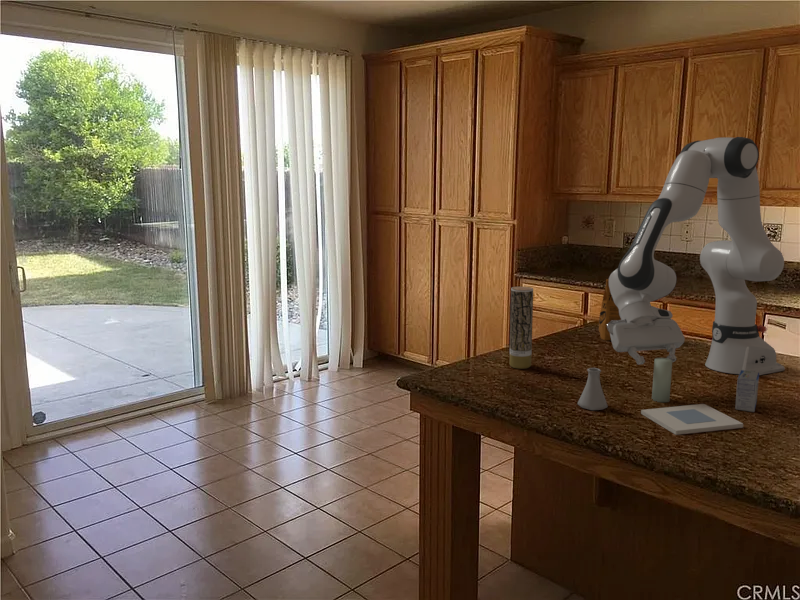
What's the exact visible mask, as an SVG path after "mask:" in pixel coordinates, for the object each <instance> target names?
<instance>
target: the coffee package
mask: <svg viewBox="0 0 800 600" xmlns="http://www.w3.org/2000/svg"><path fill="white" fill-rule="evenodd" d="M612 320H621V318H620V315H619V309H618V307H617V306H616V305H615V303H614V301H613V298H612V295H611V292H610V289H609V278H608V279H607V278H606V280H605V287H604V292H603V296H602V301H601V308H600V312H599V319H598V332H599V335H600V339H601V340H602V341H605V342H606V341H609V342H610V341H611V337H610V333H609V331H608V328H607V324H608V323H609V322H610V321H612Z"/></svg>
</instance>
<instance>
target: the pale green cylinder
mask: <svg viewBox="0 0 800 600" xmlns="http://www.w3.org/2000/svg"><path fill="white" fill-rule="evenodd" d="M653 362H654V363H653V373H652V374H653V375H652V391H651V400H652V399H653V400H652V401H654V402H656V401H657V403H669V402H670V397H671V386H672V385H671V383H672V373H673V372H672V370H673V362H672V360H671V359H668V358H667V357H655V358H654V360H653Z"/></svg>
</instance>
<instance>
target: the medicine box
mask: <svg viewBox="0 0 800 600" xmlns="http://www.w3.org/2000/svg"><path fill="white" fill-rule="evenodd" d="M759 379H760V375H759V372H754V371H746V370H741V372H740V374H738V377H737V381H736V394H735V395H736V396H735V404H734V405H735V407H734V408H735V410H738V411H743V412H750V413H755V411H756V407H757V404H758V403H757V402H758V392H759V391H758V390H759Z"/></svg>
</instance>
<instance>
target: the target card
mask: <svg viewBox="0 0 800 600" xmlns="http://www.w3.org/2000/svg"><path fill="white" fill-rule="evenodd" d="M640 414H641V415H642V416H644V417H646V418H647V419H649V420H650V421H652V422H654V423H655V424H657V425H659V426H661V427H662V428H664V429H666V430H667V431H669V432H670V433H672V434H673V435H675V436H677V435H687V434H688V435H689V434H695V433H704V432H705V433H707V432H714V431H725V430H733V429H742V428H744V423H743V422H741V421H739V420H737V419H735V418H733V417H731V416H728V415H727V414H725V413H723V412H721V411H719V410H717V409H715V408H713V407H711V406H710V405H708V404H705V403H699V404H698V403H697V404H688V405H687V404H686V405H678V406H677V405H676V406H668V407H659V408H656V407H655V408H648V409H640Z"/></svg>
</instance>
